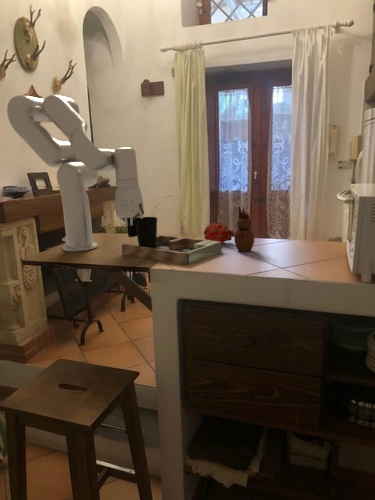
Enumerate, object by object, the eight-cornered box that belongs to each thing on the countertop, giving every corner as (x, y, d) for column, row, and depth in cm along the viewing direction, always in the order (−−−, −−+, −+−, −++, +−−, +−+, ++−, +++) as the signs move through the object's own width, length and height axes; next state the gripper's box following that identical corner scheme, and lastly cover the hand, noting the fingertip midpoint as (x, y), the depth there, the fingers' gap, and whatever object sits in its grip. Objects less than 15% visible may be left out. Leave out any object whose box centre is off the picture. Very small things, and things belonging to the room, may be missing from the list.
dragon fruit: (202, 246, 150) (232, 252, 146) (197, 237, 142) (229, 243, 138) (208, 226, 153) (238, 232, 149) (204, 216, 145) (235, 222, 141)
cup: (156, 255, 132) (154, 220, 129) (134, 255, 133) (131, 220, 130) (161, 250, 139) (159, 216, 136) (140, 250, 140) (138, 216, 138)
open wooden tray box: (122, 254, 135) (121, 244, 134) (159, 243, 150) (158, 234, 149) (187, 264, 118) (186, 253, 117) (221, 251, 133) (221, 241, 132)
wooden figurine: (231, 250, 135) (231, 206, 132) (245, 247, 138) (245, 205, 134) (243, 253, 129) (242, 208, 126) (257, 251, 132) (257, 206, 128)
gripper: (104, 186, 137) (110, 237, 141) (135, 184, 128) (140, 239, 132) (120, 184, 143) (125, 233, 147) (150, 183, 134) (155, 235, 138)
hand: (133, 236), depth 139 cm, fingers closed
